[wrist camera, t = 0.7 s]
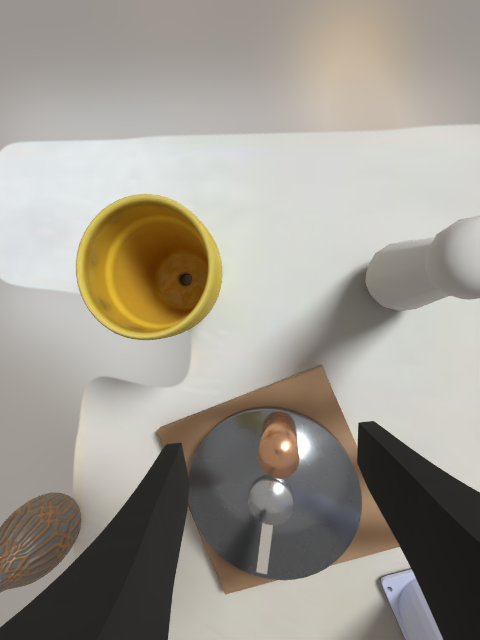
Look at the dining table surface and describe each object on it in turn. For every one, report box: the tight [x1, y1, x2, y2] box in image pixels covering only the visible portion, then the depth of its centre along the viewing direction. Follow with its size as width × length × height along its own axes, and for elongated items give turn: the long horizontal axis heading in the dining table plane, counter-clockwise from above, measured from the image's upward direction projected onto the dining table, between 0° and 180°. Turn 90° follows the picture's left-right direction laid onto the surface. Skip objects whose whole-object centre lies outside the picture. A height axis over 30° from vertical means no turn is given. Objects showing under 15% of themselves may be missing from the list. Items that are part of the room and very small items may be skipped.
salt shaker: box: [365, 216, 480, 311], centre depth 20 cm, size 6×6×13 cm
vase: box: [0, 493, 81, 592], centre depth 29 cm, size 7×7×9 cm
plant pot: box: [76, 194, 222, 340], centre depth 25 cm, size 10×10×10 cm
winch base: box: [157, 365, 400, 594], centre depth 29 cm, size 18×18×1 cm
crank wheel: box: [188, 406, 362, 580], centre depth 25 cm, size 16×16×7 cm
